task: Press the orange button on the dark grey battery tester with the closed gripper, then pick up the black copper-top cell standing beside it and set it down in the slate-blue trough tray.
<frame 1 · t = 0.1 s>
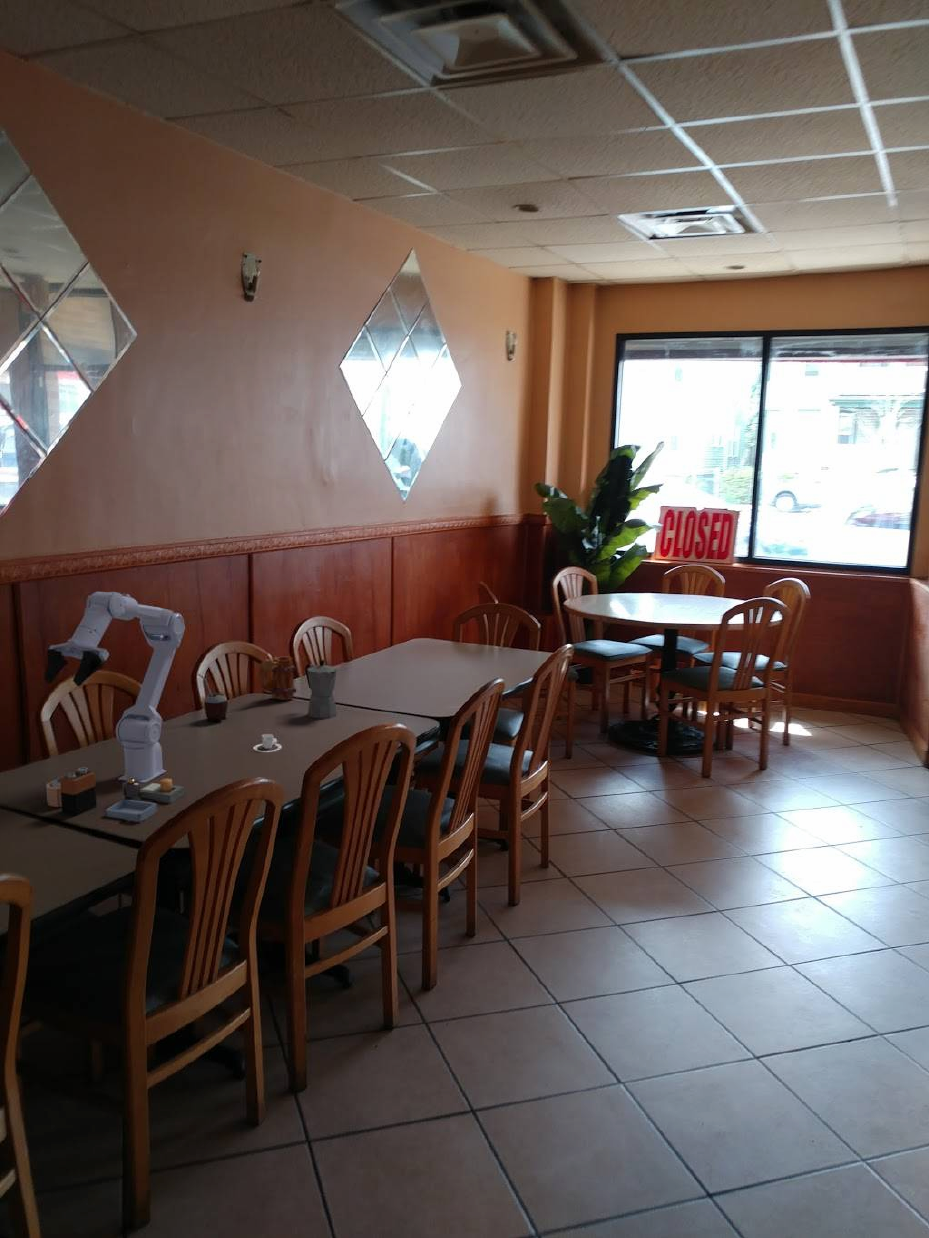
hand: (61, 682, 209), 32 cm above the table, tool tilted 50°, fingers open, 7 cm apart
copper top cell: (132, 803, 224), on the table
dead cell: (62, 801, 223), resting on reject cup
mug: (277, 701, 316), on the table
battery: (79, 812, 219), on the table
trough tray: (131, 814, 217), on the table
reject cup: (62, 803, 223), on the table
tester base: (166, 797, 228), on the table
coffeepot: (320, 714, 301), on the table
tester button: (166, 786, 228), point 3 cm above the table, slide at 0.0 cm
teacup and saucer: (278, 748, 268), on the table
mate gourd: (214, 721, 292), on the table
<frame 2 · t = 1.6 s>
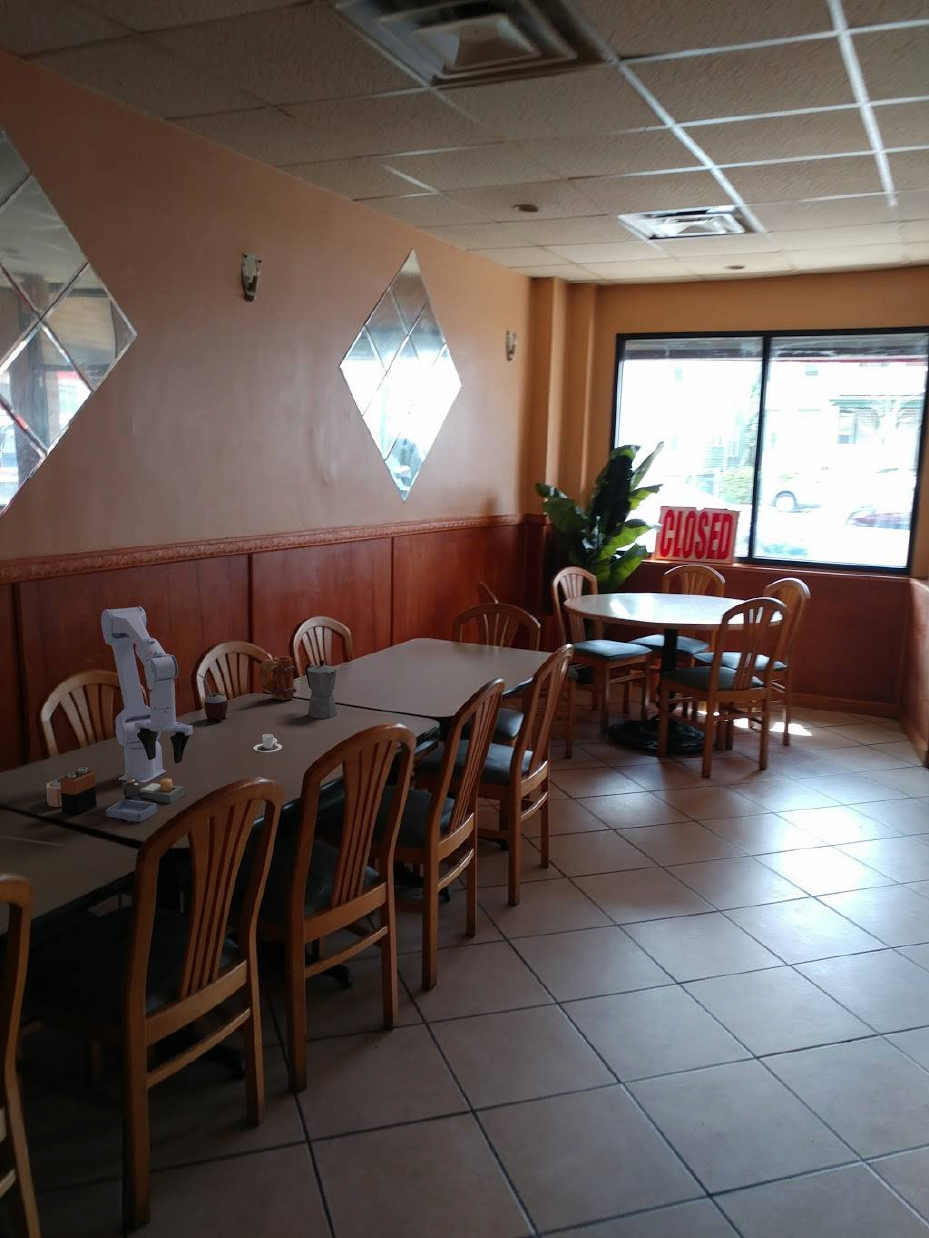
hand: (165, 760, 227), 9 cm above the table, tool pointing down, fingers open, 7 cm apart
nothing on the table moved.
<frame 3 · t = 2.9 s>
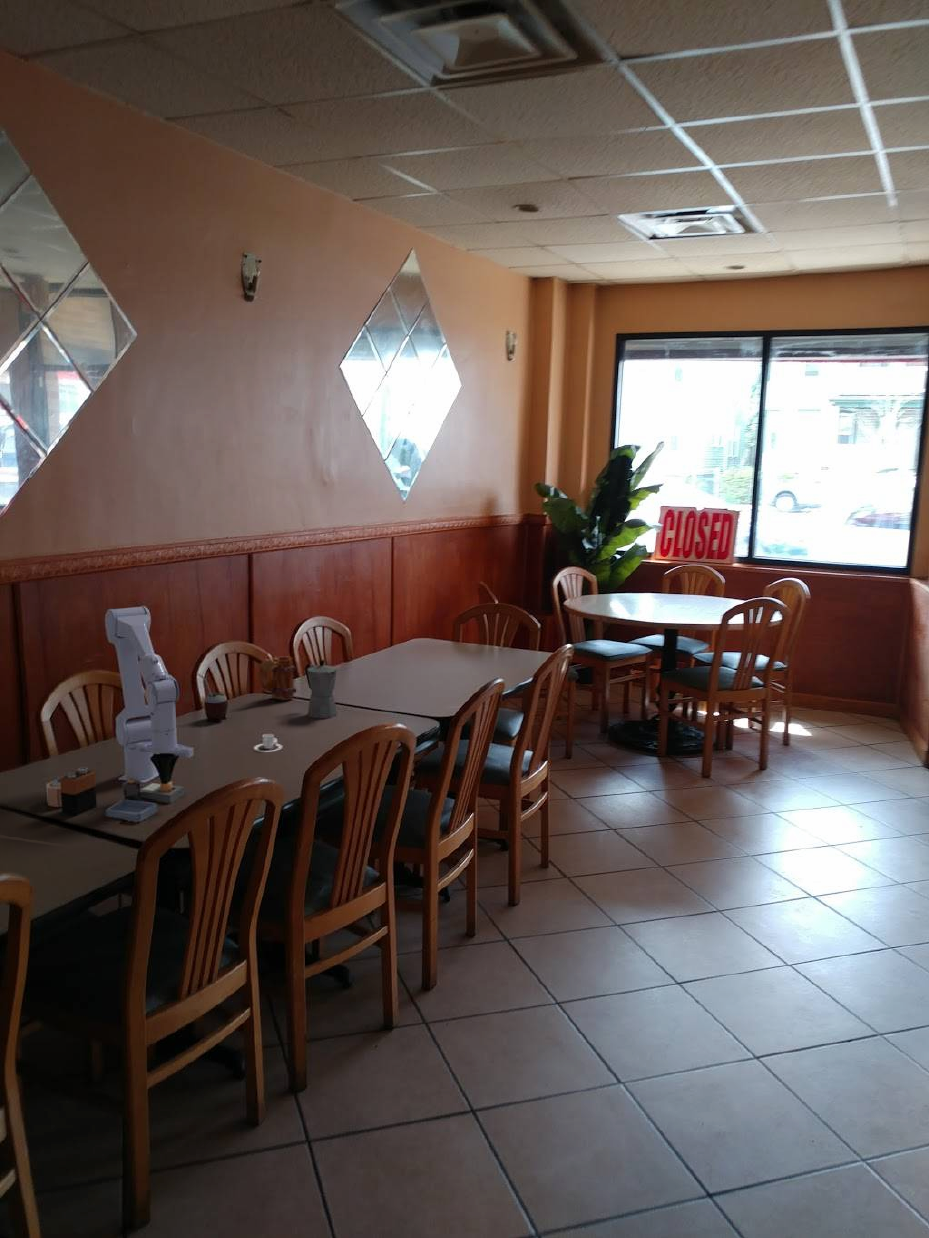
hand: (166, 782, 228), 4 cm above the table, tool pointing down, fingers closed, pressing on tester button
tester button: (166, 788, 228), point 2 cm above the table, slide at 0.5 cm, touching gripper
everything else where it was.
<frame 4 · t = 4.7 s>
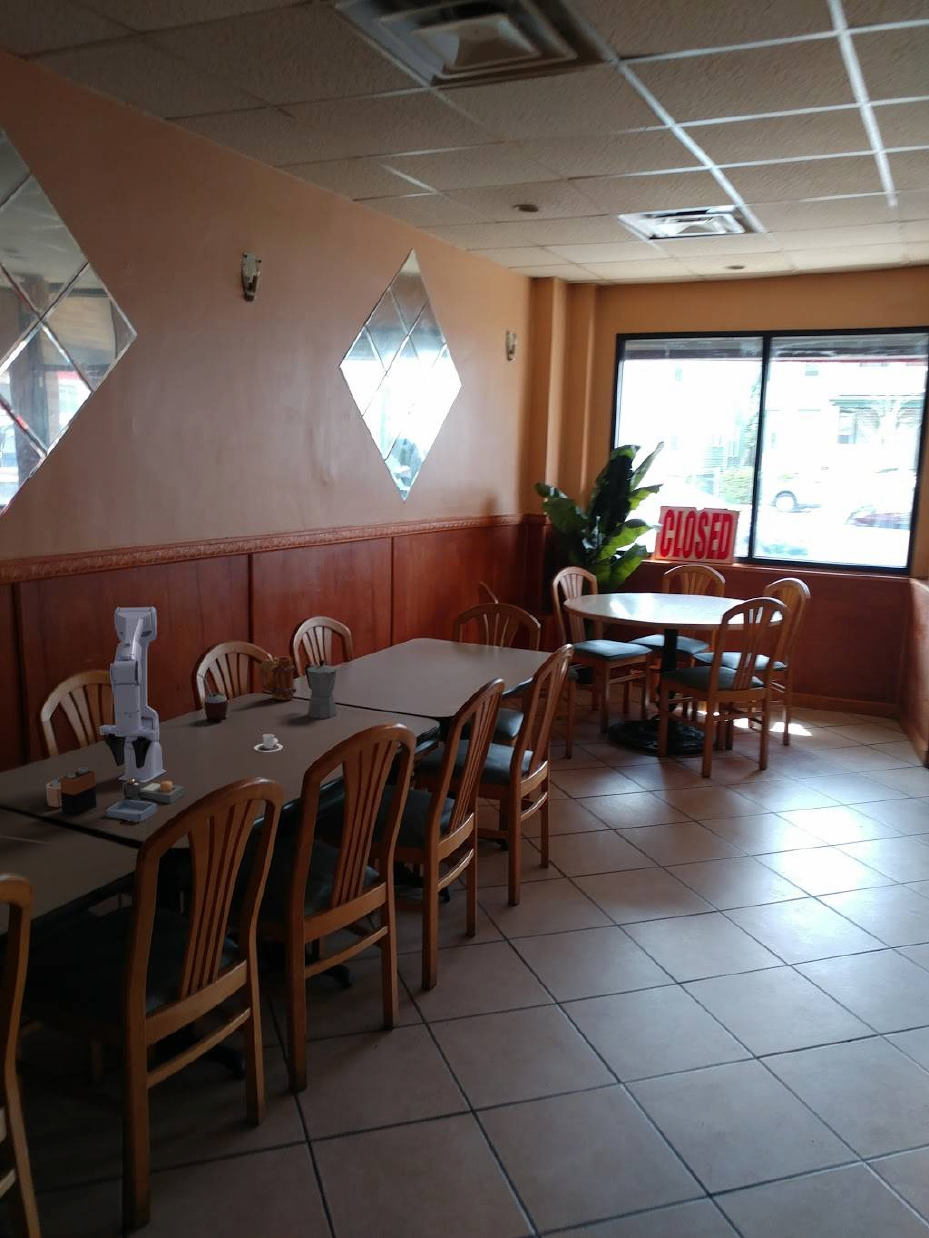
hand: (130, 766, 222), 9 cm above the table, tool pointing down, fingers open, 5 cm apart
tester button: (166, 788, 228), point 2 cm above the table, slide at 0.6 cm
everything else where it was.
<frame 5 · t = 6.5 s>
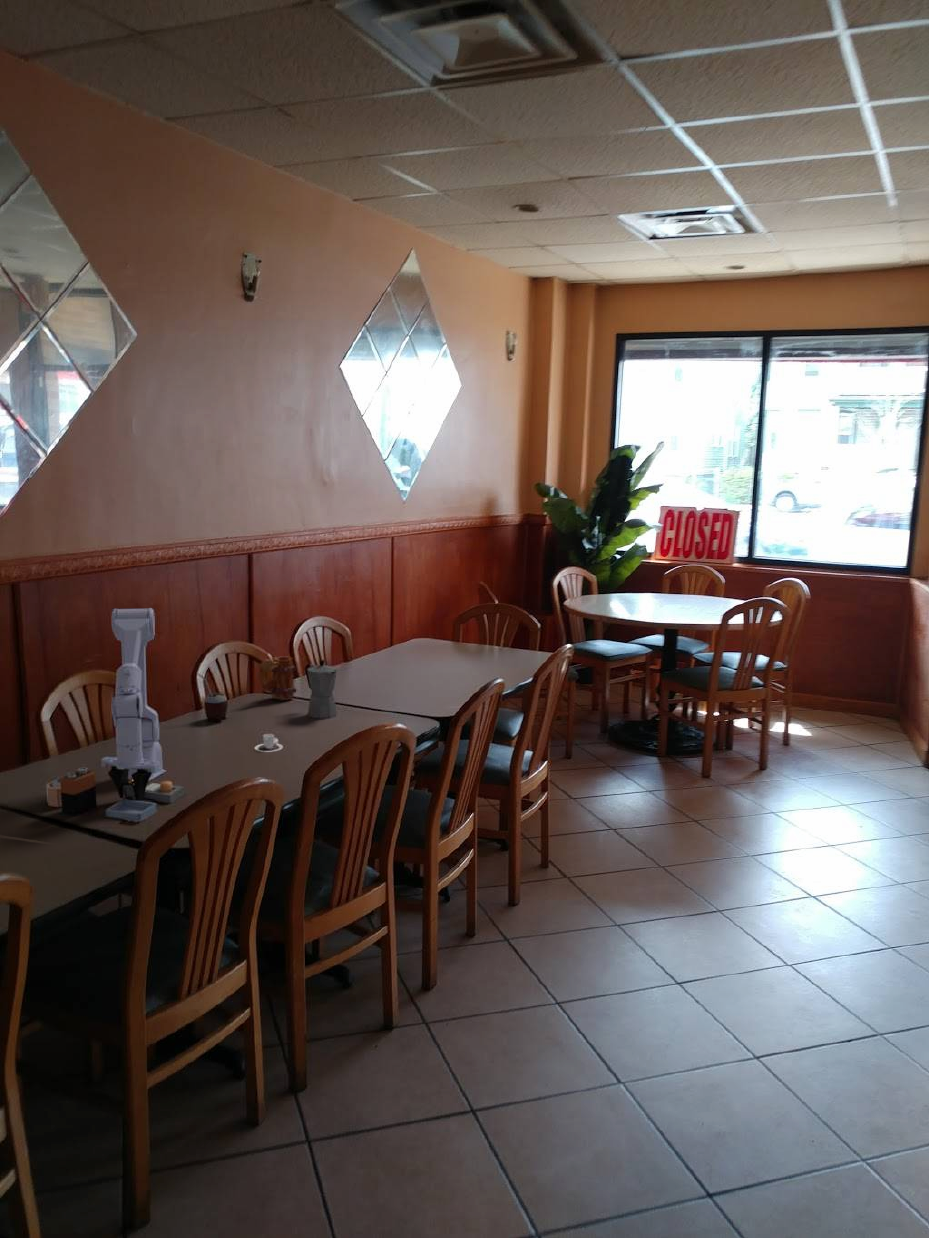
hand: (131, 797, 224), 1 cm above the table, tool pointing down, fingers closed on copper top cell, 4 cm apart
copper top cell: (132, 803, 224), on the table, touching gripper
everything else where it was.
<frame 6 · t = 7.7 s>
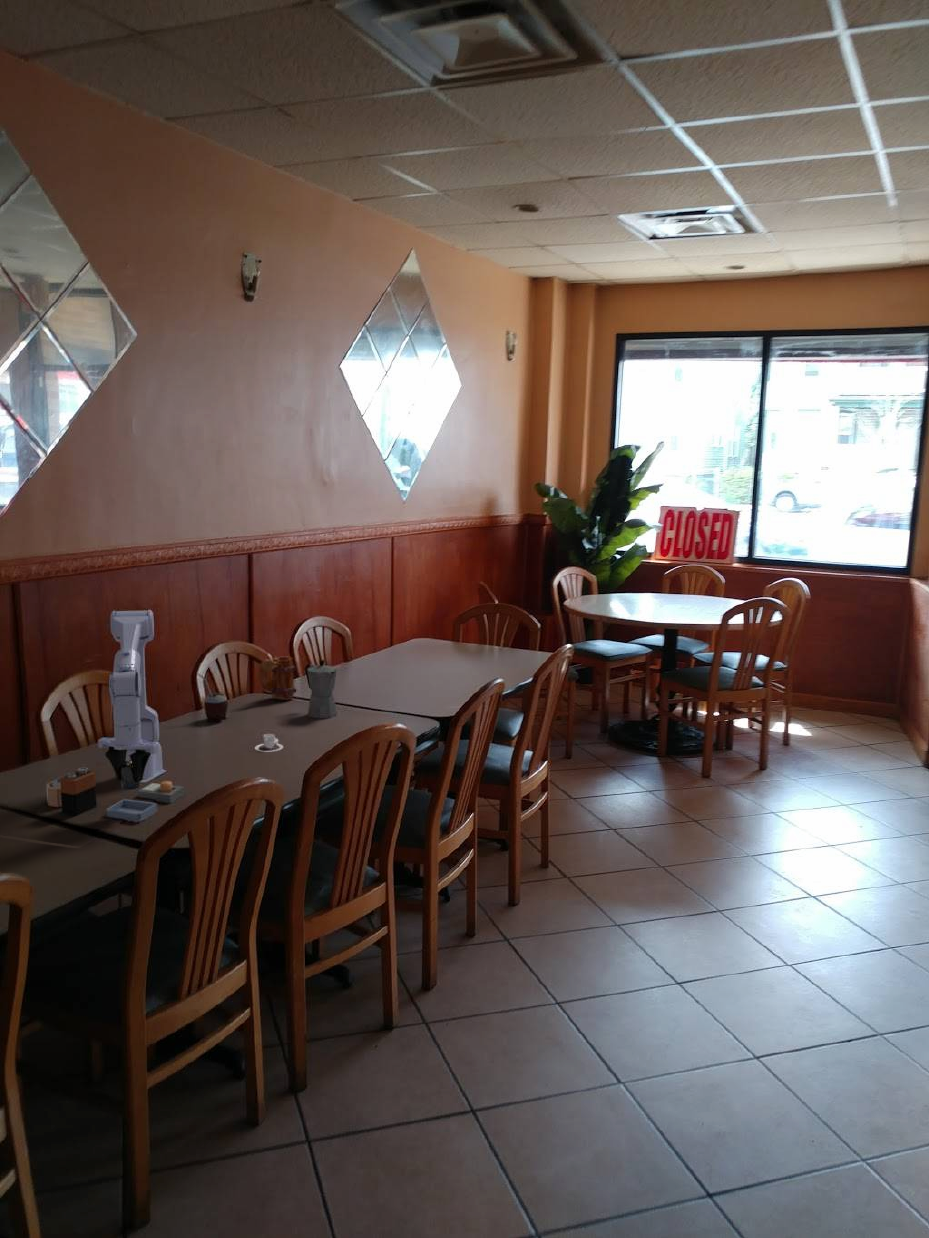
hand: (130, 779, 216), 8 cm above the table, tool pointing down, fingers closed on copper top cell, 4 cm apart
copper top cell: (130, 786, 216), point 7 cm above the table, touching gripper
everything else where it was.
when the fingers open (3 cm above the table, at t = 9.0 s): copper top cell drops 1 cm, resting on trough tray.
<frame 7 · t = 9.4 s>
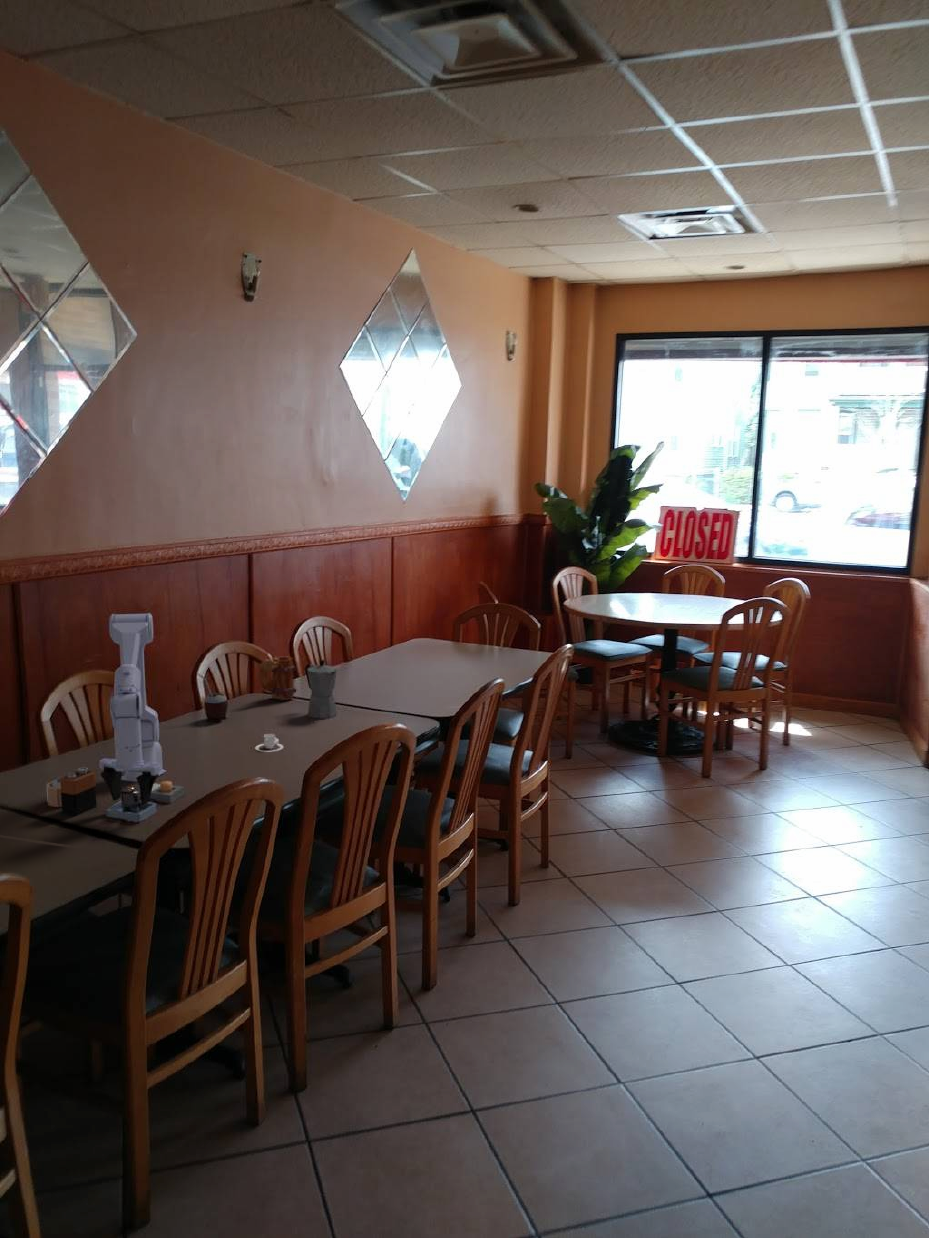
hand: (131, 800, 217), 3 cm above the table, tool pointing down, fingers open, 7 cm apart
copper top cell: (131, 812, 217), resting on trough tray
everything else where it was.
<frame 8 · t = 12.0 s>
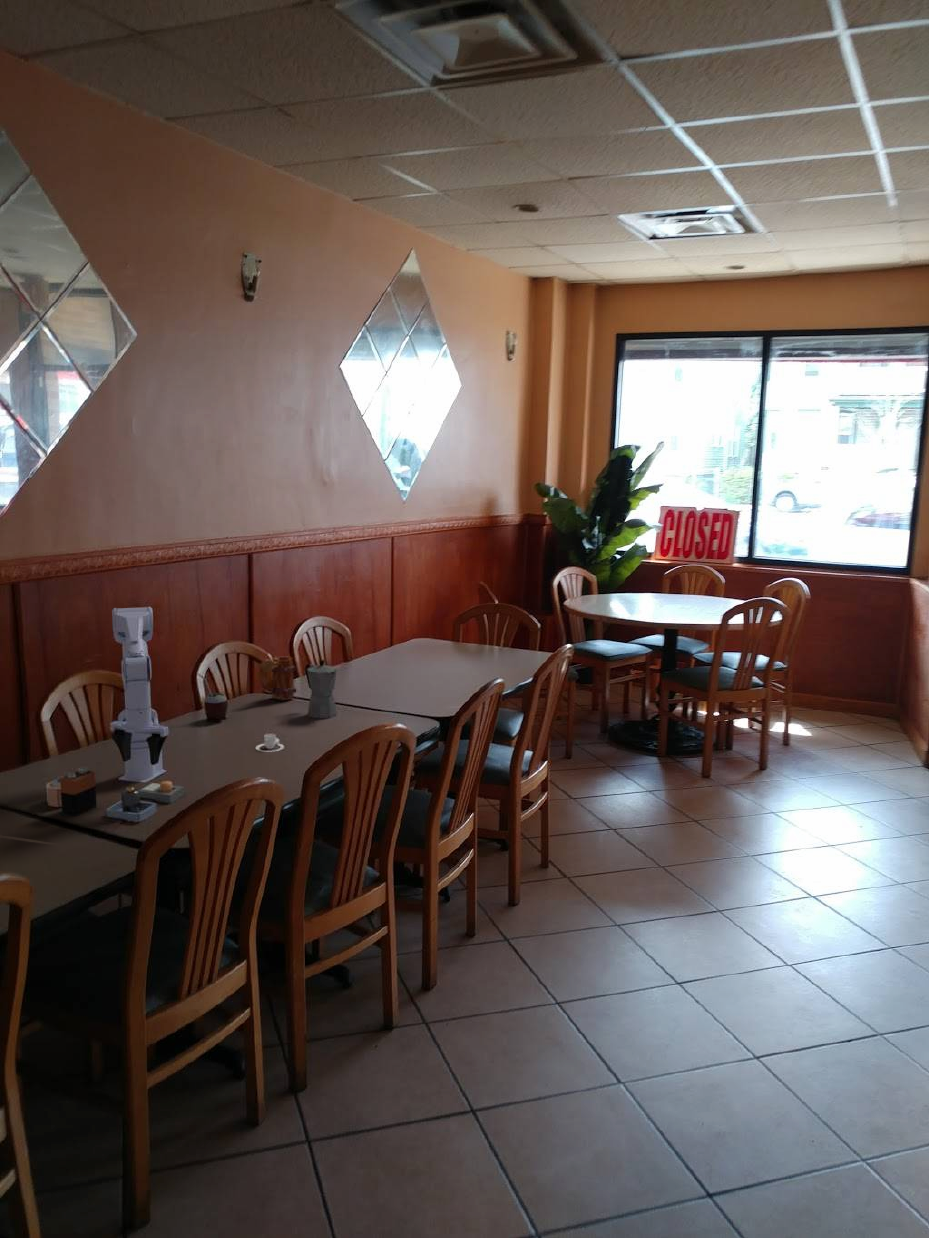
hand: (140, 762, 224), 10 cm above the table, tool pointing down, fingers open, 7 cm apart
nothing on the table moved.
at the end: copper top cell inside the target area on the trough tray (0.1 cm from its centre), point 0.5 cm above the trough tray's base; the gripper is holding nothing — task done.
